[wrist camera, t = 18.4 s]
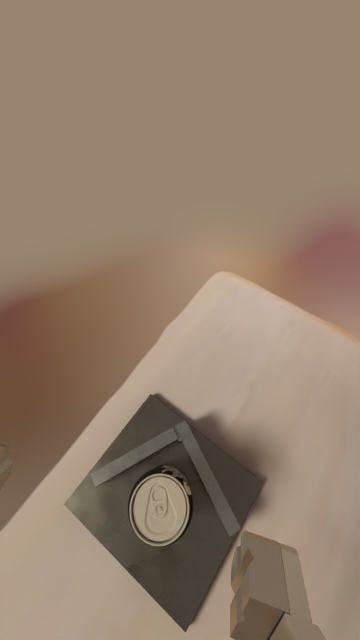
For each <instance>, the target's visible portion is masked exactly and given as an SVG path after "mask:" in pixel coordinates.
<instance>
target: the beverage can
mask: <svg viewBox="0 0 360 640" xmlns="http://www.w3.org/2000/svg"><path fill="white" fill-rule="evenodd" d="M192 514H193V498H192V494H191V491H190V488H189V485H188V482H187V480H186V478H185V476H184V474H183V473H182V472H181V471H180V470H179V469H177V468H176V467H173V466H170V465H160V466H157V467H155V468H153V469H152V470H150V471H148V472H146V473H145V474H143V475H142V476H141V477H140V478H139V479H138V480H137V482H136V483H135V484H134V486H133V488H132V490H131V493H130V496H129V500H128V518H129V522H130V525H131V527H132V529H133V531H134V533H135V534H136V536H137V537H138V538H139V539H140V540H141V541H142V542H144V543H146V544H148V545H150V546H154V547H165V546H169V545H171V544H173V543H175V542H176V541H178V540H179V539H180V538H181V537H182V536H183V535H184V533H185V532H186V530H187V529H188V527H189V525H190V522H191V519H192Z"/></svg>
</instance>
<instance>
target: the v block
mask: <svg viewBox="0 0 360 640" xmlns="http://www.w3.org/2000/svg"><path fill="white" fill-rule="evenodd" d="M160 465H170V466H173V467H176V468H177V469H179V470H180V471H181V472H182V473H183V474H184V476H185V478H186V480H187V482H188V485H189V488H190V491H191V494H192V498H193V514H192V519H191V522H190V525H189V527H188V529H187V530H186V532H185V533H184V535H183V536H182V537H181V538H180V539H179V540H178V541H176V542H175V543H173V544H171V545H169V546H165V547H154V546H150V545H148V544H146V543H144V542H142V541H141V540H140V539H139V538H138V537H137V536H136V534H135V533H134V531H133V529H132V527H131V525H130V522H129V518H128V500H129V496H130V493H131V490H132V488H133V486H134V484H135V483H136V482H137V480H138V479H139V478H140V477H141V476H142V475H143V474H145V473H146V472H148V471H150V470H152V469H153V468H155V467H157V466H160ZM262 484H263V483H262V482H261V481H260V480H259V479H257V478H256V477H255V476H254V475H252V474H251V473H250V472H249V471H247V470H246V469H245V468H244V467H242V466H241V465H240V464H238V463H237V462H236V461H235V460H233V459H232V458H231V457H230V456H228V455H227V454H226V453H225V452H223V451H222V450H221V449H220V448H218V447H217V446H216V445H214V444H213V443H212V442H211V441H209V440H208V439H207V438H206V437H204V436H203V435H202V434H201V433H199V432H198V431H197V430H196V429H194V428H193V427H192V426H191V425H189V424H188V423H187V422H186V420H183V419H182V418H180V417H179V416H178V415H177V414H175V413H174V412H173V411H172V410H170V409H169V408H168V407H167V406H165V405H164V404H163V403H161V402H160V401H159V400H158V399H156V398H155V397H154V396H153V395H151V394H150V396H149V397H148V398H147V400H146V401H145V402H144V403H143V405H142V406H141V407H140V408H139V410H138V411H137V412H136V414H135V415H134V416H133V417H132V419H131V420H130V421H129V422H128V424H127V425H126V426H125V428H124V429H123V430H122V431H121V433H120V434H119V435H118V436H117V438H116V439H115V440H114V442H113V443H112V444H111V445H110V447H109V448H108V449H107V450H106V452H105V453H104V454H103V456H102V457H101V458H100V459H99V461H98V462H97V463H96V464H95V466H94V467H93V468H92V470H91V471H90V472H89V473H88V475H87V476H86V477H85V478H84V480H83V481H82V482H81V484H80V485H79V486H78V487H77V489H76V490H75V491H74V492H73V494H72V495H71V496H70V498H69V499H68V500H67V501H66V503H65V504H64V505H65V506H66V507H67V508H68V509H69V510H70V511H71V512H72V513H73V514H74V515H75V516H76V517H77V518H78V519H79V520H80V521H81V523H82V524H83V525H84V526H85V527H86V528H87V529H88V530H89V531H90V532H91V533H92V534H93V535H94V536H95V537H96V538H97V539H98V540H99V542H100V543H101V544H102V545H103V546H104V547H105V548H106V549H107V550H108V551H109V552H110V553H111V554H112V555H113V556H114V557H115V558H116V559H117V561H118V562H119V563H120V564H121V565H122V566H123V567H124V568H125V569H126V570H127V571H128V572H129V573H130V574H131V575H132V576H133V577H134V578H135V579H136V581H137V582H138V583H139V584H140V585H141V586H142V587H143V588H144V589H145V590H146V591H147V592H148V593H149V594H150V595H151V596H152V597H153V598H154V600H155V601H156V602H157V603H158V604H159V605H160V606H161V607H162V608H163V609H164V610H165V611H166V612H167V613H168V614H169V615H170V616H171V617H172V619H173V620H174V621H175V622H176V623H177V624H178V625H179V626H180V627H181V628H182V629H183V630H184V631H185V632H186V630H187V628H188V626H189V625H190V623H191V621H192V619H193V617H194V615H195V613H196V611H197V609H198V607H199V605H200V603H201V601H202V599H203V597H204V596H205V594H206V592H207V590H208V588H209V586H210V584H211V582H212V580H213V578H214V576H215V574H216V572H217V570H218V569H219V567H220V565H221V563H222V561H223V559H224V557H225V555H226V553H227V551H228V549H229V547H230V545H231V543H232V541H233V540H234V538H235V536H236V534H237V532H238V531H239V530H240V529H241V527H240V526H241V524H242V522H243V520H244V518H245V516H246V514H247V512H248V511H249V509H250V507H251V505H252V503H253V501H254V499H255V497H256V495H257V493H258V491H259V489H260V487H261V485H262Z"/></svg>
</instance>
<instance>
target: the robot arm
mask: <svg viewBox="0 0 360 640" xmlns="http://www.w3.org/2000/svg"><path fill="white" fill-rule="evenodd" d="M11 454H12V446H10V445H7V444H5V443H2V442H0V489H1V488H2V487H3V486H4V484H5V483H6V481H7V480H8V478H9V476H10V474H11V470H12V462H11V461H10V459H9V456H10V455H11ZM231 587H232V589H233V591H234V593H235V596H234V598H233V600H232V603H231V605H230V637H231V638H233V639H235V640H326V639H325V637H324V635H323V634H322V632H321V630H320V629H319V627H318V626H317V625H314V624H312V620H311V615H310V610H309V605H308V600H307V595H306V590H305V585H304V580H303V575H302V571H301V566H300V561H299V556H298V553H297V551H296V549H295V548H293V547H290V546H287V545H284V544H281V543H278V542H277V541H274V540H271V539H268V538H266V537H263V536H260V535H257V534H254V533H251V532H248V531H244V532H243V534H242V536H241V546H239V547H237V548H236V551H235V553H234V557H233V562H232V569H231Z"/></svg>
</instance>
